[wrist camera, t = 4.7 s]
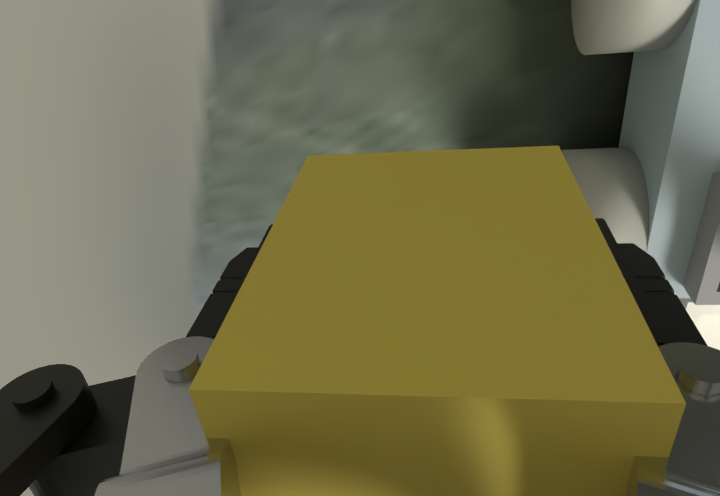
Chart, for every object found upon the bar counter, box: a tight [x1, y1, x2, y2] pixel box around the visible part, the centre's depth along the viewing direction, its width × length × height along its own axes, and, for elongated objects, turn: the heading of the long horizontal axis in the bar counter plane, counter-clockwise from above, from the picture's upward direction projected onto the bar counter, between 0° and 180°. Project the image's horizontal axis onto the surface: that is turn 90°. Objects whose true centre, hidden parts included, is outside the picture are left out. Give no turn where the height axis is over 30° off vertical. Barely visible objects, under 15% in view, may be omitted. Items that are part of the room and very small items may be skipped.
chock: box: [189, 146, 686, 496], centre depth 10 cm, size 6×5×6 cm
